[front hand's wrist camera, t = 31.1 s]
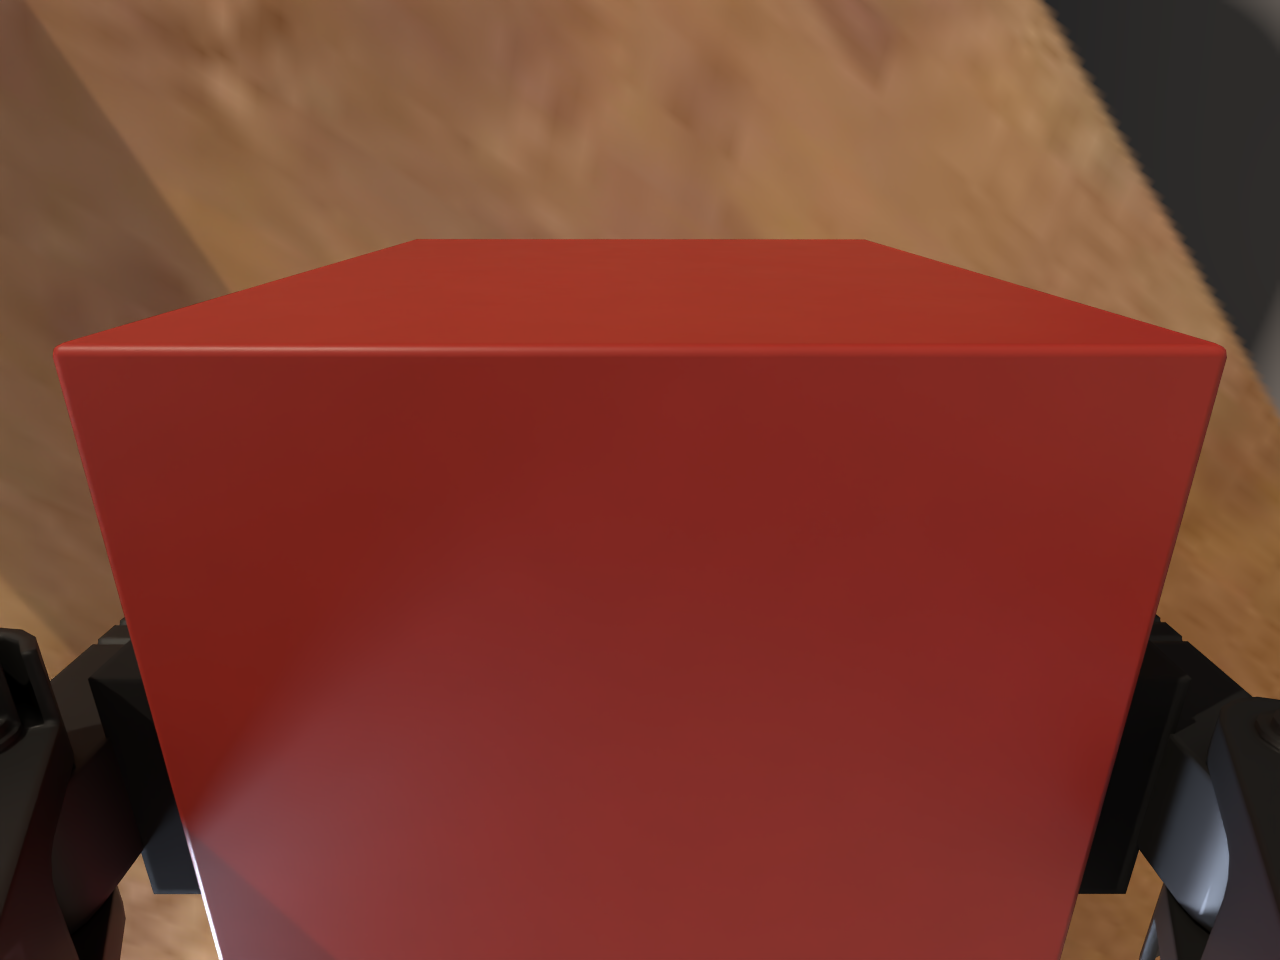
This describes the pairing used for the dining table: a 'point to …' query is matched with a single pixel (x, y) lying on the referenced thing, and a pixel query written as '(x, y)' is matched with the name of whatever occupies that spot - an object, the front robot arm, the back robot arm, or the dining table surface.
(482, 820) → the block
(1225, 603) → the dining table surface
